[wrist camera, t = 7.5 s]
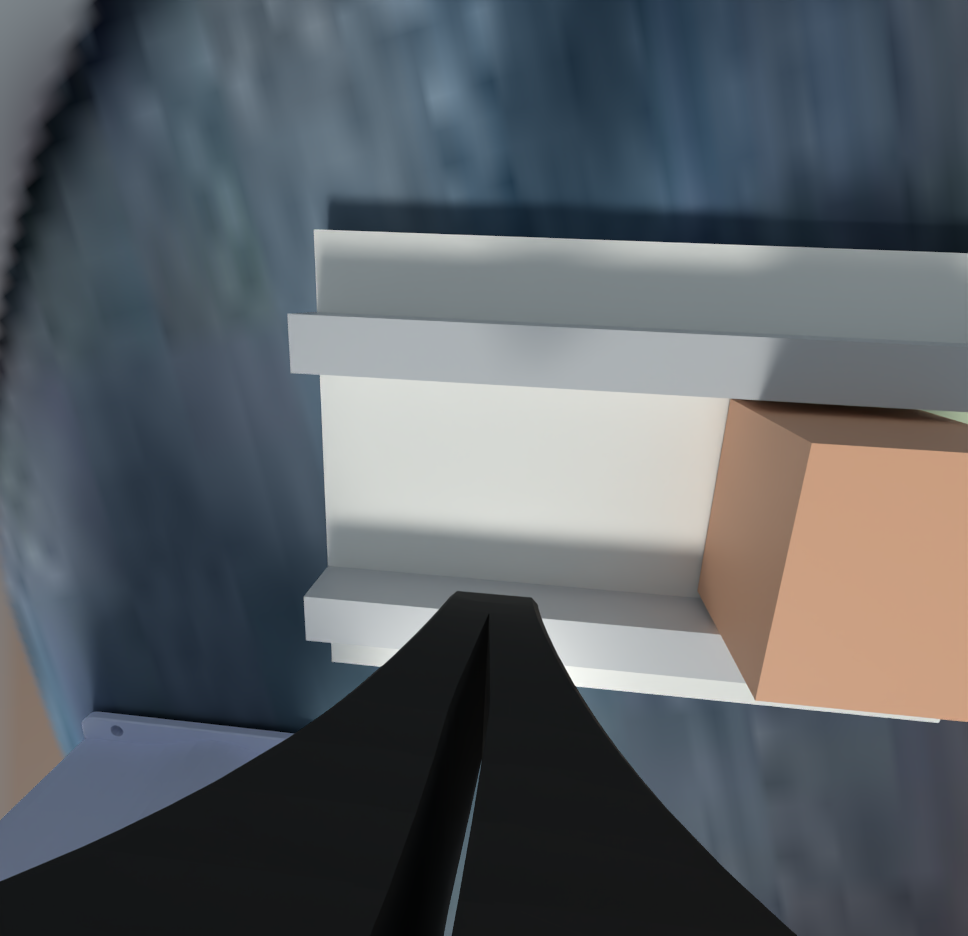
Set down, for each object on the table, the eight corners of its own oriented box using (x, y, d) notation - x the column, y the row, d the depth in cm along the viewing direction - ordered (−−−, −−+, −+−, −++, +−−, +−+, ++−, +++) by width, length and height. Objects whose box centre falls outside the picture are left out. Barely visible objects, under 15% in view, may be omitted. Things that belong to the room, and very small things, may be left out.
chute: (341, 644, 21) (296, 723, 17) (327, 233, 17) (262, 214, 13) (918, 701, 19) (1012, 802, 15) (1061, 260, 15) (1238, 247, 11)
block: (697, 590, 18) (754, 700, 13) (730, 399, 16) (812, 442, 11) (866, 605, 17) (992, 724, 12) (920, 410, 15) (1090, 460, 11)
